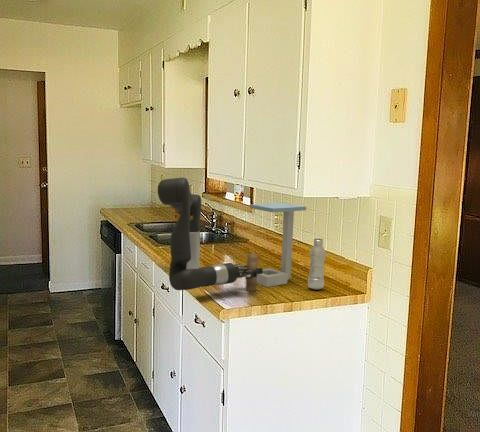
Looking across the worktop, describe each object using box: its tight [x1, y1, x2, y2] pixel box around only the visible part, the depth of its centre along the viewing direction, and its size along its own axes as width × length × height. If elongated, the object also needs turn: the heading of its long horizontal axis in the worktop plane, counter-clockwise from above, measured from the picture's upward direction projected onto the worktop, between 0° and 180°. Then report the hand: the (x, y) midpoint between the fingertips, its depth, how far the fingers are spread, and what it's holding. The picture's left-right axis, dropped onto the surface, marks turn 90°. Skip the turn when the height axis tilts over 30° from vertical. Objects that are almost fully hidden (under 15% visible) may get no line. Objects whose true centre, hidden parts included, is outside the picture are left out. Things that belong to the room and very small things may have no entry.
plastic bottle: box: [307, 238, 327, 290], centre depth 206 cm, size 6×7×20 cm
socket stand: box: [249, 202, 307, 288], centre depth 215 cm, size 18×14×32 cm
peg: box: [245, 252, 259, 292], centre depth 201 cm, size 4×4×14 cm
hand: (257, 269), depth 203 cm, fingers open, 5 cm apart
